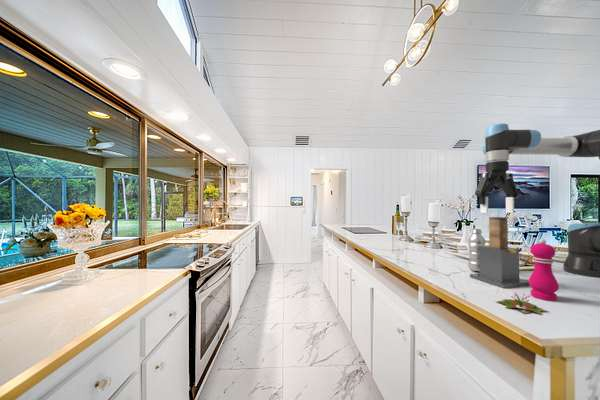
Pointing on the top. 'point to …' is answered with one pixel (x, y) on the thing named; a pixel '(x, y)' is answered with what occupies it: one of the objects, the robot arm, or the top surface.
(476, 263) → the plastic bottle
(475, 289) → the top surface
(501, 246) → the column
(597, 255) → the robot arm
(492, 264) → the sleeve
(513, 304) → the lily flower
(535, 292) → the pepper mill
